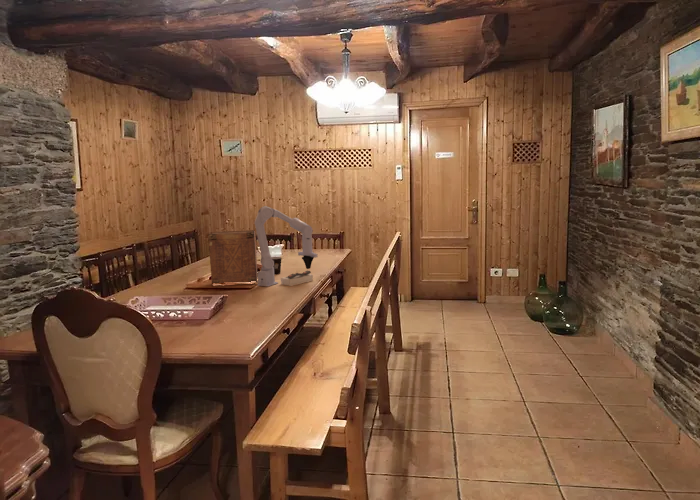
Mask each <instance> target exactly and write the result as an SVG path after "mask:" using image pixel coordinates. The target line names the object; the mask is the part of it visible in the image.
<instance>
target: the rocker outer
mask: <svg viewBox="0 0 700 500" xmlns="http://www.w3.org/2000/svg"><path fill="white" fill-rule="evenodd" d="M301 273H302V274H304V275H308V274H311V271H310V270H305V271H304V272H301Z"/></svg>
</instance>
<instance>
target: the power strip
mask: <svg viewBox="0 0 700 500" xmlns="http://www.w3.org/2000/svg"><path fill="white" fill-rule="evenodd" d="M280 280H281V281H280V282H281V283H280V284H281V285H284V286H289V287H291V286H292V287H293V286H296V285H301V284H304V283H309V282H313V281H314V275H313V274H311V273H310V274H308V275H304V276H298V275H296V277H294V278H292V279H290V278H288V276H285V277H284V276H283V277H281V278H280Z"/></svg>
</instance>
